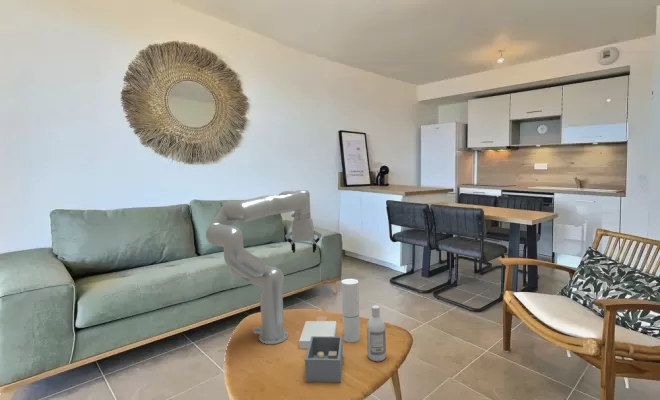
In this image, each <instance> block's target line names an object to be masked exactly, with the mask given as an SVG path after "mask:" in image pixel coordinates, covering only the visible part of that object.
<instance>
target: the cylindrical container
mask: <svg viewBox="0 0 660 400" xmlns="http://www.w3.org/2000/svg"><path fill="white" fill-rule="evenodd" d="M340 284H341V308H342V309H341V310H342V311H341V313H342V315H341V316H342V341H344V342H347V343H350V344H351V343H356V342H359V341H360V339H361V332H360V331H361V330H360V299H359V298H360V297H359V289H360V288H359V280H358V279H356V278H345V279H342V280H341V282H340Z"/></svg>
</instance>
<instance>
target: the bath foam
mask: <svg viewBox="0 0 660 400" xmlns="http://www.w3.org/2000/svg"><path fill="white" fill-rule="evenodd" d="M380 311H381V310H380V305H377V304H376V305H375V304H374V305H372V306H371V316H370V318H369V319H368V321H367V323H366V338H367V339H366V346H367V347H366V349H367V350H366V351H367V358H368V359H370V360H371V361H373V362H382V361H383V360H385V359H386V356H387V355H386V353H387V351H386V350H387V348H386V347H387V346H386V345H387V344H386V325H385V321H384V320H383V319H382V317H381V314H380Z"/></svg>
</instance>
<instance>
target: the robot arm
mask: <svg viewBox="0 0 660 400" xmlns="http://www.w3.org/2000/svg"><path fill="white" fill-rule="evenodd" d="M292 212H294V213H292ZM287 213H292V214H291V218H293V219H292V227H291V232H289V233H287V234H285V236H284V237H285V238H286V240H287V241H288V243H289V244H290V245H291V251H292V253H293V254H294V253H295V252H296V242H306V241H307V242H309V241H311V242H312V253H316V251H317V244H318V242H319V241H320V240H321V238H322V236H323V235H322V233H320V232H317V231H316V230H315V229H314V222H313V218H311V217H312V216H311V194H310V191H309V190H306V189H301V190H300V189H299V190H298V189H297V190H295V191H293V190H284V191H281V192H280V193H278V195H277V194H276V195H274V194H273V195H271V194H270V195H269V194H268V195H262V196H258V197H253V198H249V199H244V200H233V199H232V200H228V201H226V202H225V204H224V203H223V205H222V207H221V208H220V209H219V211H218V212H217V213H216V214H215V216H214V217H213V219H212V220H211V222H210V223H209V225H208V227H207V229H206V232H205V238H206V240H207V242H208V243H209V244H211V245H212V246H217V247H222V248H223V260H224V262H225V264H226V265H227V266H228V267H229V269H230V271H231V273H232V274H233V276H236V278H237V277H238V278H239V279H241V280H243V281H245V282H246V283H249V284H250V285H254V286H258V287H260V288H262V292H261V294H260V300H259V301H260V303H259V304H260V319H261V326H258V327H257V326H256V327H255V326H254V327H252V332H253V335H258V341H259V340H260V341H261V342H262V343H261V342H260V341H259V342H260V343H261V344H264V343H265V344H264V345H277V344H280V343H282V342H285V340H287V339H288V336H289V332H288V331H287V330H286V329H285V319H284V299H283V289H284V288H283V286H284V281H285V276H284V273H283V271H282V270H281V269H280V268H279V267H276V266H274V265H273V266H272V265H269V264H268V265H267V264H265V262H264V261H263V260H262V259H261V258H260V257H259V256H256V255H254V254H253V253H251V252H250V251H247V249H245V248H244V235H243V232H242V230H241V229H240V228H239V227H237V226H236V225H235V226H234V225H233V224H234V222H237V223H247V222H251V221H254V220H258V219H261V218H265V217H268V216H274V215H275V216H276V215H281V214H287ZM315 236H317V238H316V239H315ZM290 237H291V238H290Z"/></svg>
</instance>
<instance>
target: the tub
mask: <svg viewBox="0 0 660 400" xmlns="http://www.w3.org/2000/svg"><path fill="white" fill-rule="evenodd" d="M343 347H344V345H343V336H335V337H334V336H311V340H310V343H309V347H308V349H306V350H307V351H306V354H305V358H304V369H305V371H304V372H305V383H306V382H307V383H308V382H309V383H341V382H342V371H343V361H344V353H343V352H344V350H343V349H344V348H343Z"/></svg>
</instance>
